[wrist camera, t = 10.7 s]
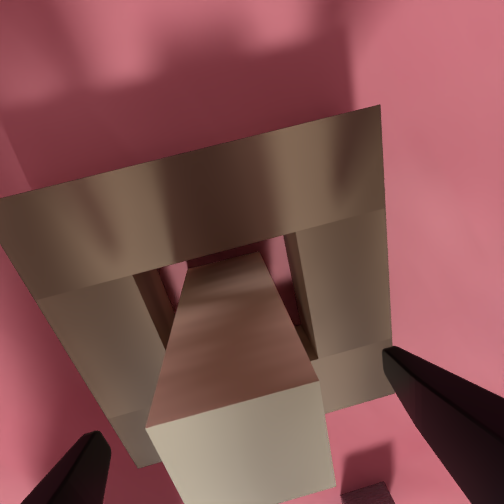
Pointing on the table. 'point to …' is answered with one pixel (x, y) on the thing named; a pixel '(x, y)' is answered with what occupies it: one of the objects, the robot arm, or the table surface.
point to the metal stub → (369, 495)
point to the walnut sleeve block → (208, 242)
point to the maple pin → (238, 393)
